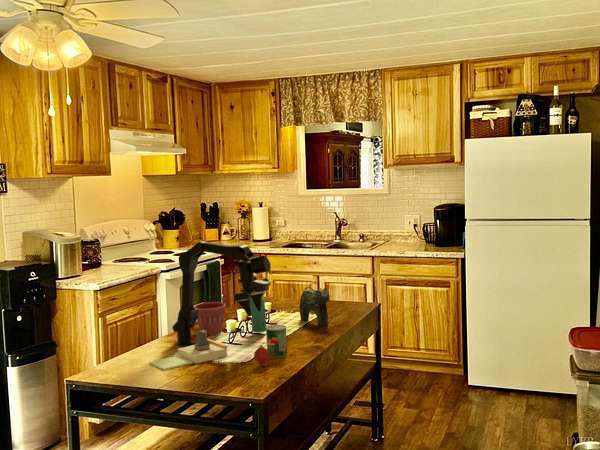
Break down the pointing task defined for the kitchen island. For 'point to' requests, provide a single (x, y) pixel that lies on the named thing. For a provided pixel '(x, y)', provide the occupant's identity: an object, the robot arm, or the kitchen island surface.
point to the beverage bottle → (258, 317)
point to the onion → (261, 356)
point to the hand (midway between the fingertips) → (255, 313)
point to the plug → (201, 341)
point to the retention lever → (217, 344)
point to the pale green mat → (170, 362)
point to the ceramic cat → (315, 304)
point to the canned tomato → (276, 340)
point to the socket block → (201, 353)
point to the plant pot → (211, 316)
